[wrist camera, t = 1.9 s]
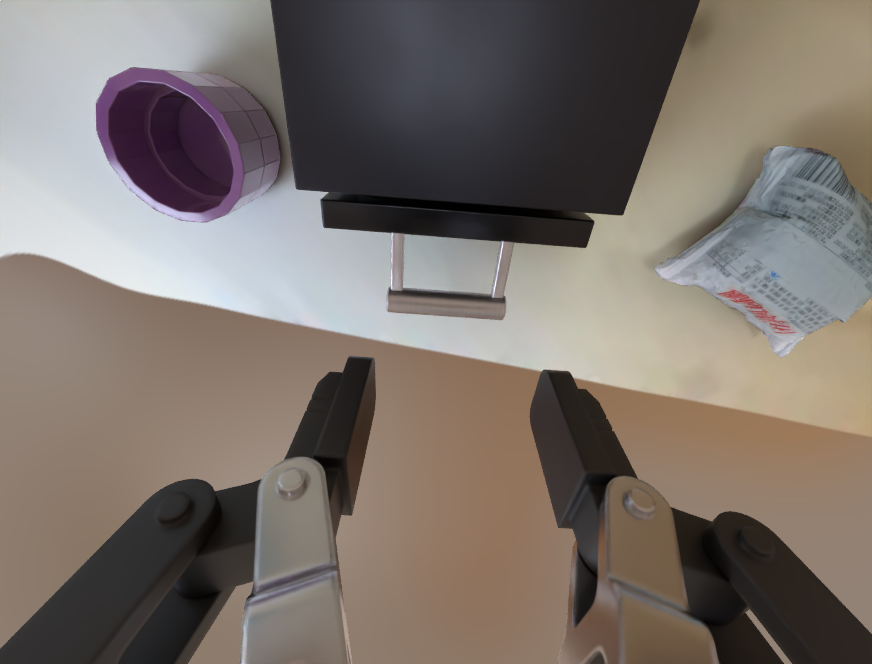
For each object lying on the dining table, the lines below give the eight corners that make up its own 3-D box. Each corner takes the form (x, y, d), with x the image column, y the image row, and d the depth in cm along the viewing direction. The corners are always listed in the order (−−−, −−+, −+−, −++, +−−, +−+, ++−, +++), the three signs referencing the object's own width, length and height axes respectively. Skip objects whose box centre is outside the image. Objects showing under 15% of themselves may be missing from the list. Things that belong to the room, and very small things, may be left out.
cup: (189, 193, 22) (129, 216, 18) (152, 68, 19) (67, 61, 14) (290, 201, 22) (255, 226, 18) (273, 79, 19) (224, 75, 15)
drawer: (529, 288, 24) (555, 347, 18) (359, 275, 24) (333, 331, 18) (635, -152, 14) (770, -326, 8) (336, -185, 13) (259, -388, 8)
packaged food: (751, 335, 27) (807, 377, 23) (639, 259, 24) (681, 292, 20) (876, 237, 23) (973, 267, 19) (761, 129, 20) (846, 137, 16)
